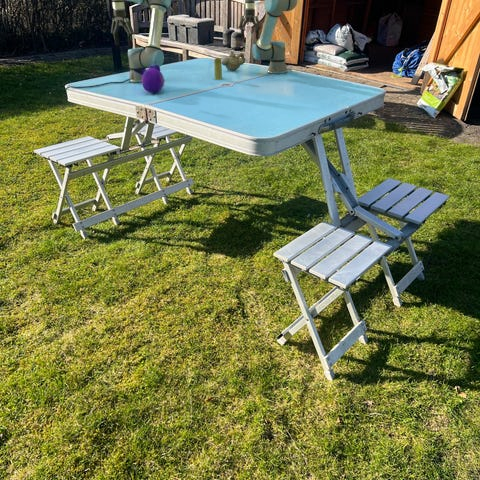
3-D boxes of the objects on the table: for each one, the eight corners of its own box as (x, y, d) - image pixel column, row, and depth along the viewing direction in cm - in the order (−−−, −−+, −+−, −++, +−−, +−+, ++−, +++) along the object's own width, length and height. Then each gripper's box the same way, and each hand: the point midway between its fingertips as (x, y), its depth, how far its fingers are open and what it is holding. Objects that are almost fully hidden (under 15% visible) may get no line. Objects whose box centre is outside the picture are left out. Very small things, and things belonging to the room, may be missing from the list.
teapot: (225, 73, 360) (224, 53, 352) (218, 71, 369) (217, 51, 361) (248, 70, 369) (247, 50, 362) (240, 68, 378) (240, 49, 370)
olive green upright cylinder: (224, 78, 343) (223, 58, 335) (219, 79, 339) (218, 59, 331) (217, 77, 346) (217, 57, 339) (212, 78, 342) (211, 59, 335)
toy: (156, 85, 322) (164, 98, 301) (131, 81, 314) (137, 93, 294) (160, 63, 314) (168, 74, 293) (135, 58, 306) (141, 69, 286)
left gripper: (136, 9, 281) (141, 46, 292) (111, 8, 294) (116, 43, 305) (127, 10, 276) (132, 47, 287) (102, 9, 289) (107, 45, 300)
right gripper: (265, 8, 350) (265, 38, 360) (239, 8, 362) (239, 37, 372) (260, 9, 344) (260, 39, 355) (234, 9, 356) (234, 38, 367)
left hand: (124, 45), depth 296 cm, fingers open, 13 cm apart
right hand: (250, 38), depth 364 cm, fingers open, 13 cm apart
